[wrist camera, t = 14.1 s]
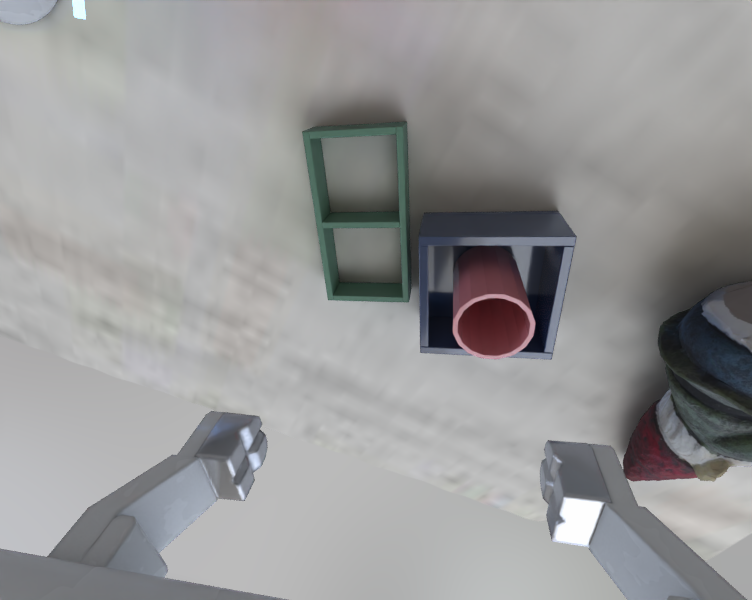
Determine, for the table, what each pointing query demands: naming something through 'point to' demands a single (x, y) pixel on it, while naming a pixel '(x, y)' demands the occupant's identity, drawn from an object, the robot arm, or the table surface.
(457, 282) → the cup
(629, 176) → the table surface
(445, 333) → the navy blue open box
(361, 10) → the table surface
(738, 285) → the figurine
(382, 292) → the rack
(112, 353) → the table surface
